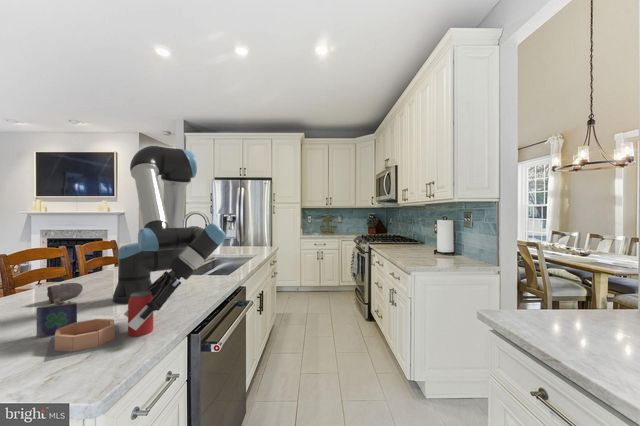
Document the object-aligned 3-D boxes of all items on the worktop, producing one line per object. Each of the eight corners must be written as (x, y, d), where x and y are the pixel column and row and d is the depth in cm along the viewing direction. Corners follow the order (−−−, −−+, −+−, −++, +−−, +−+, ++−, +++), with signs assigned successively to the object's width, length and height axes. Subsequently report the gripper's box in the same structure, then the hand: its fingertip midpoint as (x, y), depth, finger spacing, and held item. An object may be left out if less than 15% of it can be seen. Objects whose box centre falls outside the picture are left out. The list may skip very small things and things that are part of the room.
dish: (57, 338, 86) (57, 325, 86) (112, 328, 94) (112, 316, 94) (53, 355, 76) (53, 340, 76) (115, 342, 83) (115, 328, 83)
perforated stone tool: (77, 294, 134) (77, 278, 134) (87, 295, 133) (87, 279, 133) (41, 304, 120) (41, 287, 120) (52, 305, 119) (52, 287, 119)
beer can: (141, 338, 87) (141, 297, 87) (122, 336, 88) (122, 295, 88) (158, 330, 94) (158, 291, 94) (139, 328, 95) (140, 290, 95)
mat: (51, 338, 87) (51, 337, 87) (117, 326, 97) (117, 324, 97) (43, 363, 73) (43, 361, 73) (123, 345, 82) (123, 344, 82)
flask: (35, 339, 86) (35, 301, 86) (38, 335, 89) (38, 299, 89) (76, 333, 91) (76, 297, 91) (78, 329, 94) (78, 295, 94)
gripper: (205, 276, 91) (145, 341, 82) (185, 265, 109) (135, 318, 100) (186, 260, 88) (122, 326, 78) (169, 252, 106) (115, 305, 97)
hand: (129, 321), depth 89 cm, fingers open, 10 cm apart
